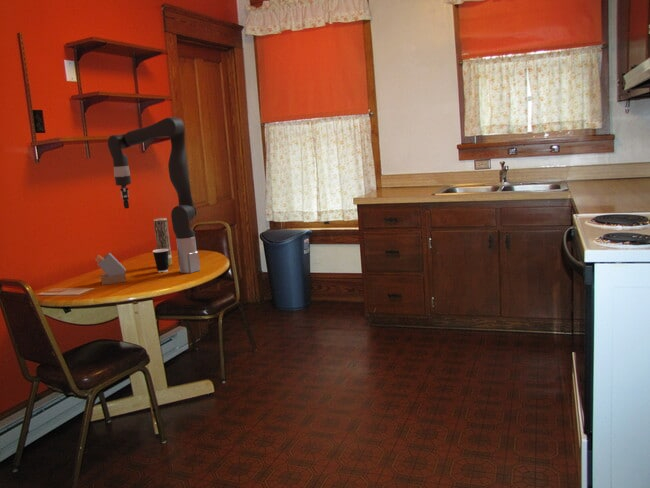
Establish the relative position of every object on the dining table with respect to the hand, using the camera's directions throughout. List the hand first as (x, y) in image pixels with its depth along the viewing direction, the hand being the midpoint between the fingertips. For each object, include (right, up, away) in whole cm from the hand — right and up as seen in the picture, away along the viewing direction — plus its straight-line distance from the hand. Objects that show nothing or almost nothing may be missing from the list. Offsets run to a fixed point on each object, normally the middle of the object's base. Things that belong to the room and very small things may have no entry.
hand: (126, 207), depth 312 cm
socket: (-1, -36, -15) cm, 39 cm away
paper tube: (+16, -30, +15) cm, 37 cm away
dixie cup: (+18, -32, 0) cm, 37 cm away
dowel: (+1, -32, -15) cm, 35 cm away
